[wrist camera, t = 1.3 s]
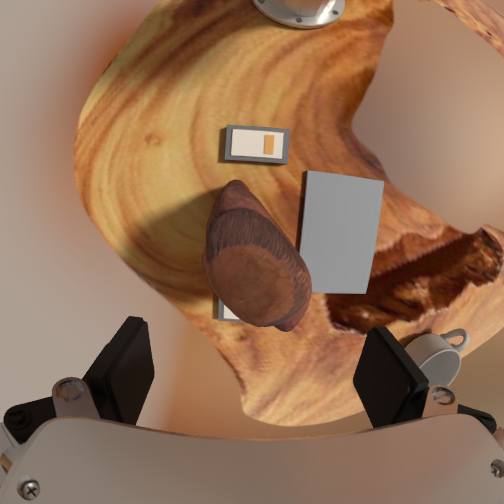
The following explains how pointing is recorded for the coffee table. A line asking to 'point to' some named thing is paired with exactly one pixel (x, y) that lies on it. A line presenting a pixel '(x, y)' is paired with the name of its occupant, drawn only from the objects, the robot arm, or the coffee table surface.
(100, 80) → the coffee table surface
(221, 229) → the wooden figurine
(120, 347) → the robot arm
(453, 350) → the teacup
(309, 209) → the mat
